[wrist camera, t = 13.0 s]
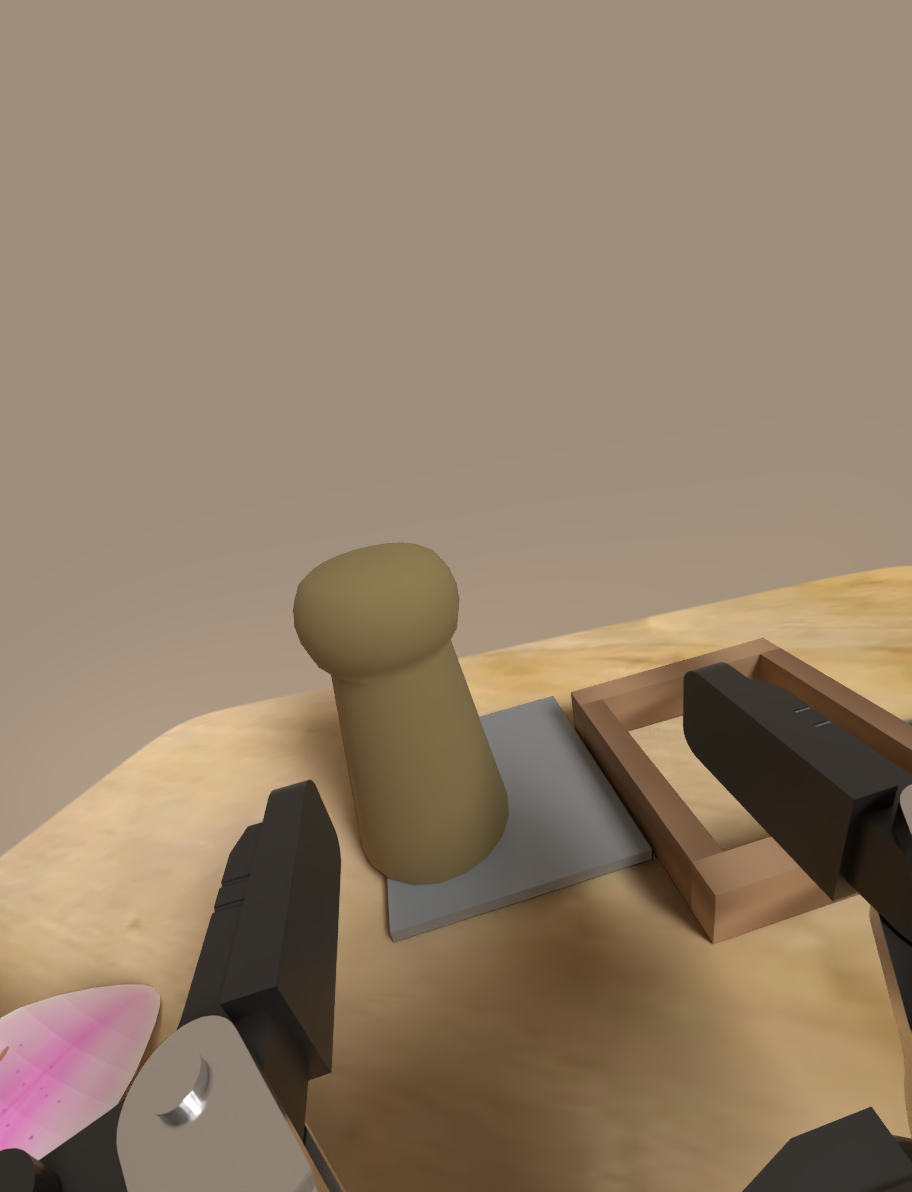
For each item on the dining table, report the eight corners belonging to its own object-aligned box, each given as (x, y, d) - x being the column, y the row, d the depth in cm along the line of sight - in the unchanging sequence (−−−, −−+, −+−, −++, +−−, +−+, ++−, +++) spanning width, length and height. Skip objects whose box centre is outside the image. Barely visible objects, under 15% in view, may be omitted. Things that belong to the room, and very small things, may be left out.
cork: (463, 914, 15) (380, 609, 10) (328, 849, 18) (220, 592, 14) (532, 776, 19) (495, 523, 15) (415, 743, 23) (355, 525, 18)
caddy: (713, 943, 13) (715, 895, 12) (575, 729, 22) (570, 692, 21) (1003, 844, 14) (1025, 792, 13) (759, 676, 23) (763, 638, 22)
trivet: (393, 942, 15) (389, 932, 15) (383, 752, 23) (380, 744, 23) (652, 859, 16) (651, 849, 16) (554, 703, 24) (553, 696, 24)
